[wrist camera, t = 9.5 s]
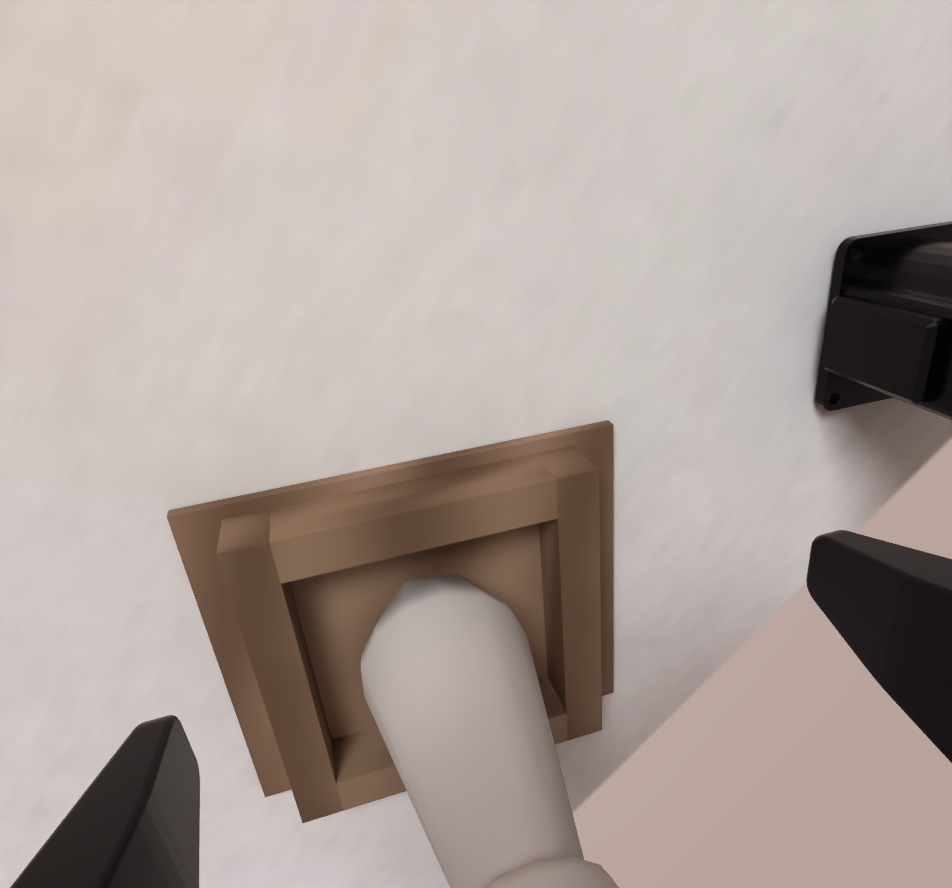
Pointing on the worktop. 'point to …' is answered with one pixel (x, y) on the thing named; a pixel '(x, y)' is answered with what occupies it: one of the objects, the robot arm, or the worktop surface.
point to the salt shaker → (473, 738)
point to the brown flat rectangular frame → (379, 579)
